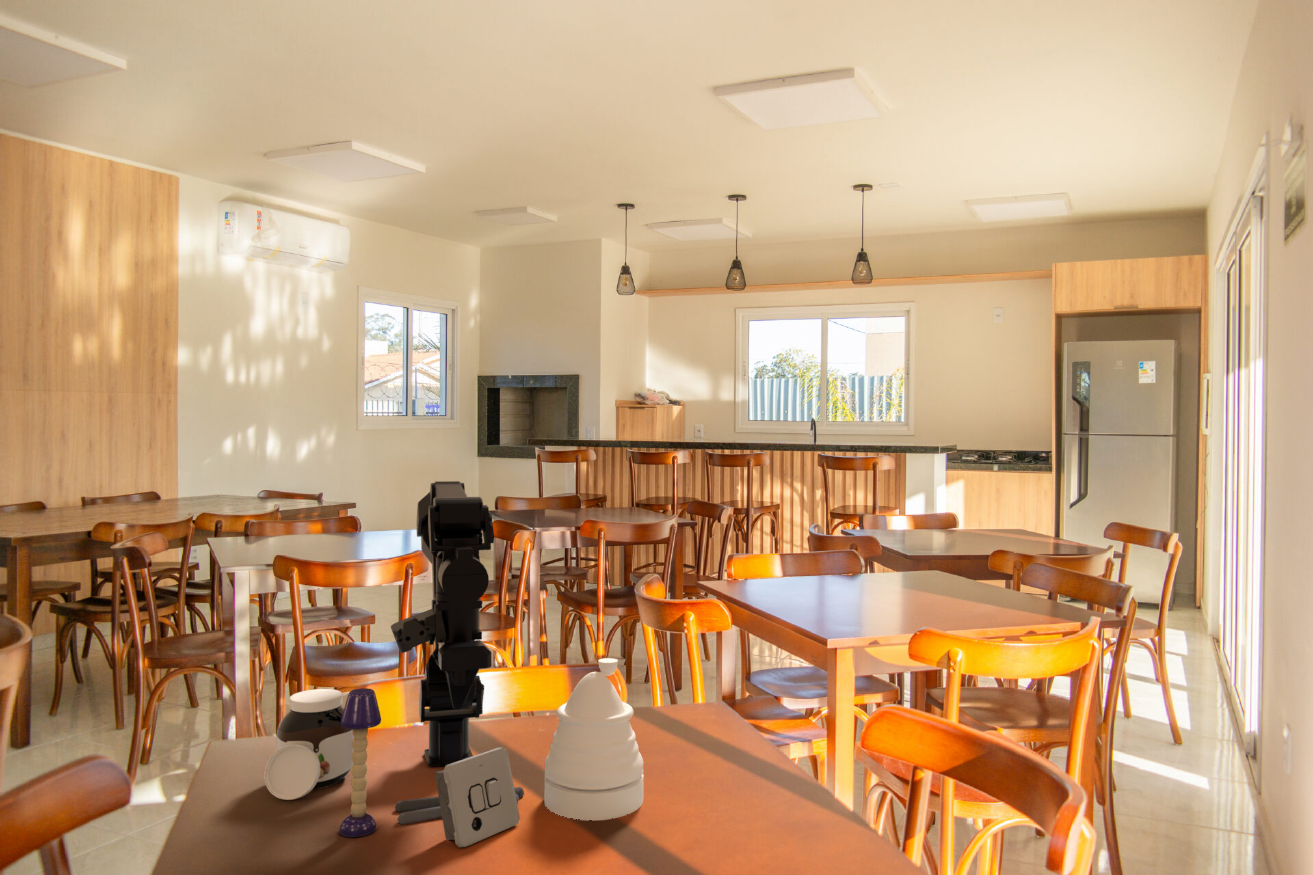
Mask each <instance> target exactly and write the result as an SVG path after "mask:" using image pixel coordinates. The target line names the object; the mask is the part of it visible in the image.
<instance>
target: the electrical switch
mask: <svg viewBox="0 0 1313 875" xmlns="http://www.w3.org/2000/svg"><path fill="white" fill-rule="evenodd" d="M444 766H445V767H444V769H442V770H439V771H436V772H434V778H435V784H436V789H437V790H436V791H437V794H438V795H437V796H439V802H440V808H441V814H442V818H441V819H442V824H443V829H444V830H443V831H444V835H445V836H444V837H445V840H449V841H450V840H453V841H454V843H455V845H456V846H457V847H458V848H466V847H469V846H472V845H473V844H475V843H478V842H480V841H483V840H485V839H487V838H489V837H491V836H494V835H496V834H498V833H500V832H502V831H503V832H504V831H505V830H508V829H510V828H513V827H514V826H517V825H518V824H519V822H520V820H521V818H520V811H519V807H518V803H517V800H516V795H515V789H514V787H515V785H514V780H513V779H514V778H513V774H512V768H511V762H510V758H509V754H508V750H507V749H506V748H505V747H496V748H493V749H490V750H488V751H485V752H481V753H478V754H476V755H473V756H472V757H469V758H466V759H463V760H460V761H457V762H454V763H451V764H449V765H444ZM447 797H448V799H447ZM447 803H449V807H450V810H449V808H448V806H447ZM449 813H451V814H449Z"/></svg>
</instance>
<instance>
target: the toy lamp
mask: <svg viewBox="0 0 1313 875" xmlns="http://www.w3.org/2000/svg"><path fill="white" fill-rule="evenodd" d="M378 703H379V702H378V699H377V696H376V692H375V690H374V689H372V688H366V687H364V688H355V689H352V690H350V691H349V692H348V694H347V697H346V701H345V705H344V707H343V708H344V711H343V715H342V719H341V726H342V727H344V728H347V729H353V730H352V734H353V737H354V739H353V742H352V748H353V750H354V751H353V753H352V762H353V765H352V768H351V770H350V771H351V776H352V779H351V783H350V785H351V789H352V790H351V795H350V799H351V803H352V804H351V807H350V813H351V814H349V815H348V816H346V817H345V818H344V819H343V820H342V822H341V824H340V826H339V835H341V836H343V837H348V838H359V837H364V836H368V835H370V834H372V833H374V832H375V831H376V830H377V823H376V820H375V818H374V817H373V816H372V815H371V814H369V813H366V811H367V804H366V800H367V798H368V797H367V790H366V787H367V784H368V778H367V776H366V775H367V772H368V765H367V760H368V751H367V748H368V744H369V742H368V738H367V736H368V734H369V729H372V728H375V727H377V726H379V725H380V724H381V722H382V716H381V711H380V707H379V704H378Z"/></svg>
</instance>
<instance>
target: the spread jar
mask: <svg viewBox="0 0 1313 875" xmlns="http://www.w3.org/2000/svg"><path fill="white" fill-rule="evenodd" d="M344 708H345V707H344V706H343V692H341V691H340V690H337V689H330V688H319V689H318V688H317V689H307V690H304V691H298V692H296V693H293V694H292V695H290V697H289V711H288V712H287V713H286V714H285V715H284V717H282V718H281V720H280V721H279V724H278V727H277V730H276V739H275V740H276V741H275V745H276V746H275V751H274V752H273V754H272V755H271V756H270V757H269V759H268V760H267V762H266V764H265V768H264V771H263V772H264V773H263V778H264V783H265V787H266V788H267V790H268V792H270V794H272V795H273V796H274V797H276V798H278V799H280V800H284V801H285V800H287V801H290V800H297V799H300V798H302V797H304V796H306V795H307V794H309V793H310V792H311V791H313V790H319V789H324V788H327V787H331V786H333V785H336V784H338V783H339V782H341V781H342V780H343V779H344V778H345V777H347V776H348V774H349V773H350V771H351V769H352V765H353V762H352V753H353V751H354V750H353V748H352V742H353V739H354V737H353V734H352V730H353V729H347V728H344V727H342V726H341V719H342V715H343V711H344Z"/></svg>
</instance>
